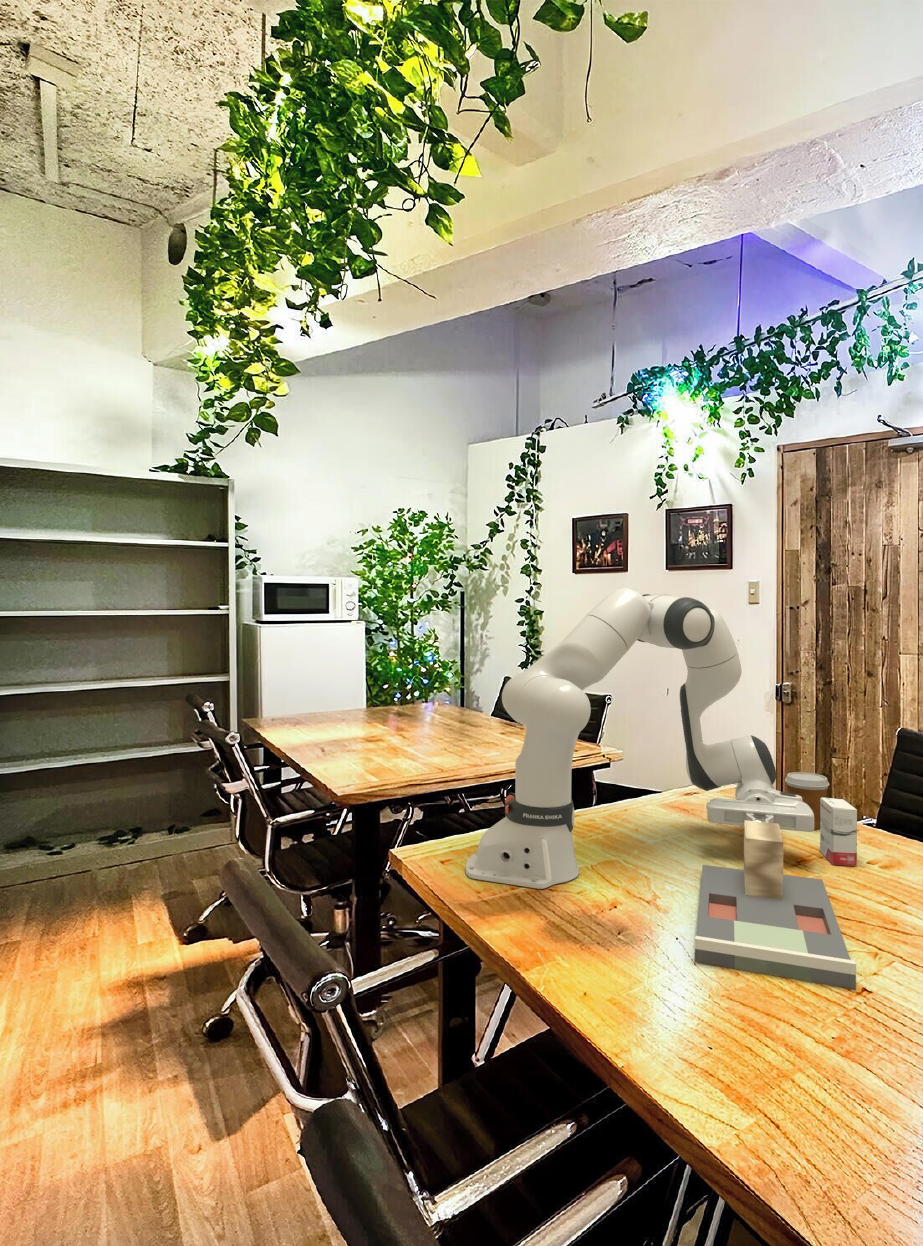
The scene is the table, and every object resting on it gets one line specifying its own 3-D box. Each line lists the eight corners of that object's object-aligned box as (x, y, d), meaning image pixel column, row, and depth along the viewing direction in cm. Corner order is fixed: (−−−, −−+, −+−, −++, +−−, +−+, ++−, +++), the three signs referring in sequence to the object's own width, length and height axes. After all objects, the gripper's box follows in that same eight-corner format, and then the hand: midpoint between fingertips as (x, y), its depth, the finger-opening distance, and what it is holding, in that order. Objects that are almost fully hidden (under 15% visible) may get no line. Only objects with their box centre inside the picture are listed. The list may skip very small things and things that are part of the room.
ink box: (858, 867, 141) (858, 809, 141) (831, 865, 142) (832, 807, 142) (843, 852, 149) (844, 797, 149) (819, 851, 150) (819, 796, 150)
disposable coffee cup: (775, 822, 170) (776, 773, 170) (807, 818, 173) (807, 770, 173) (805, 834, 161) (806, 782, 161) (838, 830, 164) (838, 779, 164)
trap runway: (694, 961, 103) (695, 938, 103) (702, 874, 137) (702, 857, 137) (855, 989, 96) (856, 964, 96) (822, 889, 130) (822, 871, 130)
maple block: (745, 894, 123) (745, 838, 123) (743, 872, 133) (744, 820, 133) (782, 899, 121) (783, 842, 120) (778, 876, 131) (778, 823, 131)
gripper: (706, 788, 154) (704, 805, 141) (809, 796, 147) (817, 815, 134) (706, 816, 154) (704, 836, 141) (809, 826, 147) (817, 847, 134)
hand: (760, 826), depth 137 cm, fingers closed
